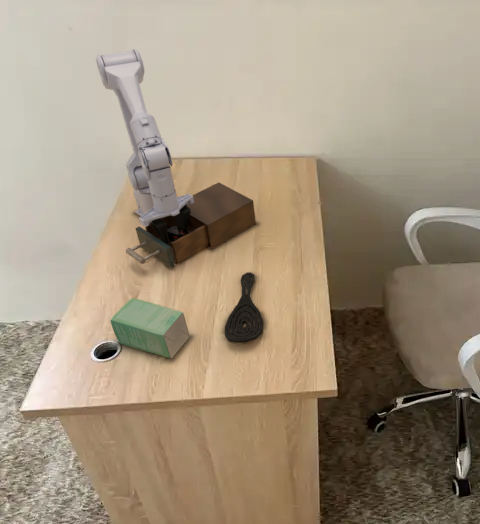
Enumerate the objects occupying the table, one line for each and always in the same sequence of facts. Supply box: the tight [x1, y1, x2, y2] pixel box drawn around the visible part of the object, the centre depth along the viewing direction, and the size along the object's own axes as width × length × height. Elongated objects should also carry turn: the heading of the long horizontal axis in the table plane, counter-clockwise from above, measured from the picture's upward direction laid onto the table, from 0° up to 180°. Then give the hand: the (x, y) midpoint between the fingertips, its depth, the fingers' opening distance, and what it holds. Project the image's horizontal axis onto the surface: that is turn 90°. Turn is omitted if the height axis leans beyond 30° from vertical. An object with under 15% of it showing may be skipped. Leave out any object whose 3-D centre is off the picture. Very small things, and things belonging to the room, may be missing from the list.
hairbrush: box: [224, 271, 264, 344], centre depth 130 cm, size 8×4×25 cm
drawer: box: [125, 215, 210, 269], centre depth 145 cm, size 20×13×6 cm, turn 139°
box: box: [110, 297, 190, 359], centre depth 121 cm, size 7×14×8 cm, turn 70°
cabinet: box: [187, 181, 257, 250], centre depth 154 cm, size 15×14×8 cm
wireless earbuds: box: [161, 226, 190, 244], centre depth 146 cm, size 5×7×3 cm, turn 62°
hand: (173, 236), depth 147 cm, fingers closed on wireless earbuds, 5 cm apart
